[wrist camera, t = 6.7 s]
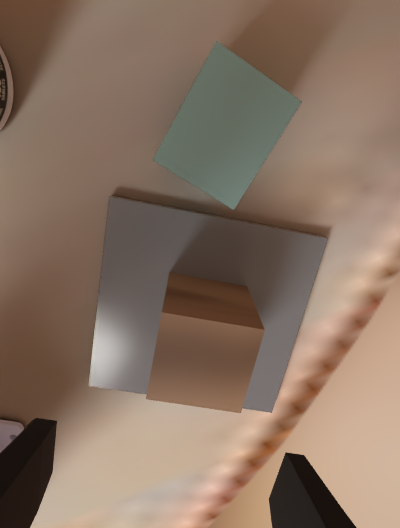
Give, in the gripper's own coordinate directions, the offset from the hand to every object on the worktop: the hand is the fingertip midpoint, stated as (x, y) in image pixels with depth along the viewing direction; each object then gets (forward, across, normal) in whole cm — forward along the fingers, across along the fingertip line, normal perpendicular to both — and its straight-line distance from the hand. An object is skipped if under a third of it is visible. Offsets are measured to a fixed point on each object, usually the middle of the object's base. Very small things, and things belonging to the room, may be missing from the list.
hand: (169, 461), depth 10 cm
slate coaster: (+10, -1, 0) cm, 10 cm away
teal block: (+10, 0, -10) cm, 15 cm away
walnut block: (+10, -1, 0) cm, 10 cm away
